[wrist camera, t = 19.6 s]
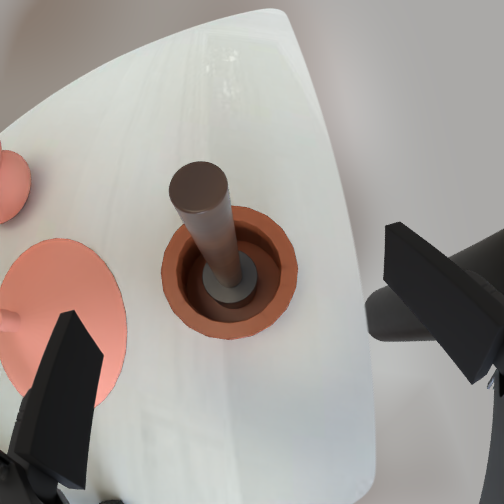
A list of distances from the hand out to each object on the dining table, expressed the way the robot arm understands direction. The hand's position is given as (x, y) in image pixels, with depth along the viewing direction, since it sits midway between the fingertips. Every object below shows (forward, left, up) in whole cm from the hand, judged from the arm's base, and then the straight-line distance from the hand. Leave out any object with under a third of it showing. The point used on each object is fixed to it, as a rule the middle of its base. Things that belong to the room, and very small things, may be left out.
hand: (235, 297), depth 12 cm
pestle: (+2, -3, -17) cm, 18 cm away
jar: (+2, -3, -18) cm, 18 cm away
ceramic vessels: (+25, +7, -18) cm, 32 cm away
